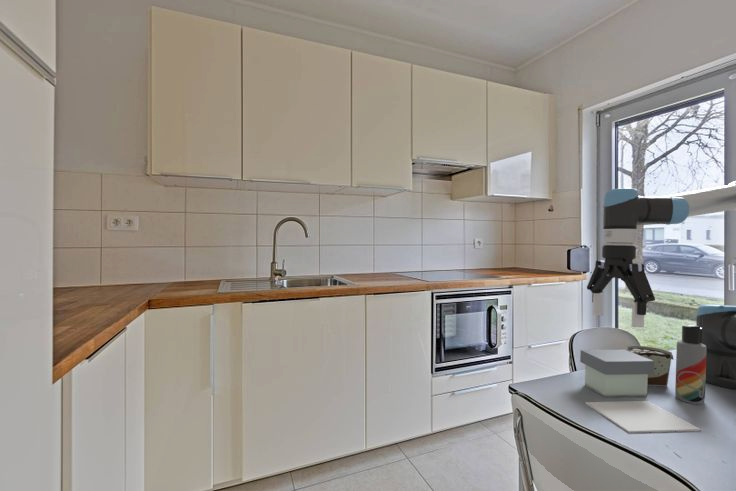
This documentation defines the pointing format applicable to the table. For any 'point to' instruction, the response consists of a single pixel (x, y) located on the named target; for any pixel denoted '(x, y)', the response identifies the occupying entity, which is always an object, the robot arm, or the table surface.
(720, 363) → the robot arm
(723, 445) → the table surface
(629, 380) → the storage box
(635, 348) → the food container
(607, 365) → the lid
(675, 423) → the mat
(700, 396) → the lotion bottle
